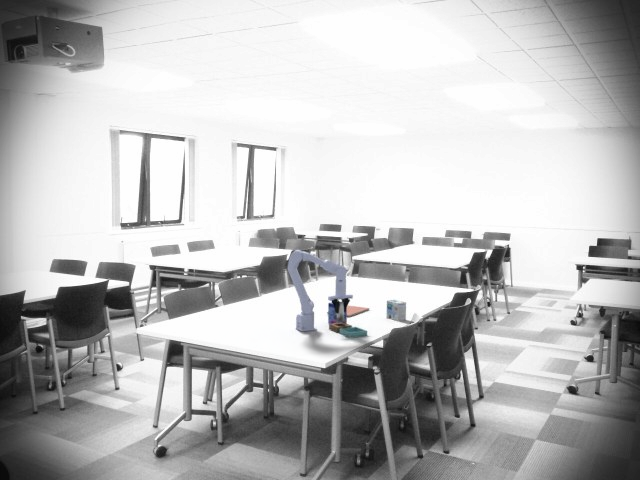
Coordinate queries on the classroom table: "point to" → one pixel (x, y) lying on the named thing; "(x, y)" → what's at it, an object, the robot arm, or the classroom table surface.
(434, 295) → the classroom table surface
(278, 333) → the classroom table surface
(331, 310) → the ink cartridge box
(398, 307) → the light bulb box
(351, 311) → the notebook
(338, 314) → the steel pin
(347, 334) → the tray
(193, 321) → the classroom table surface
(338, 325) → the hitch block
